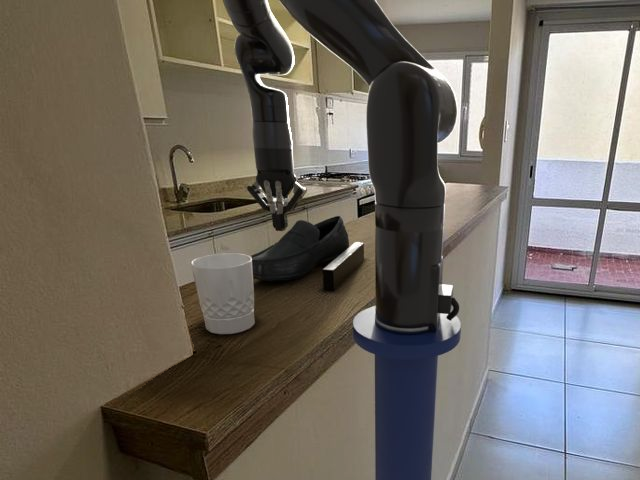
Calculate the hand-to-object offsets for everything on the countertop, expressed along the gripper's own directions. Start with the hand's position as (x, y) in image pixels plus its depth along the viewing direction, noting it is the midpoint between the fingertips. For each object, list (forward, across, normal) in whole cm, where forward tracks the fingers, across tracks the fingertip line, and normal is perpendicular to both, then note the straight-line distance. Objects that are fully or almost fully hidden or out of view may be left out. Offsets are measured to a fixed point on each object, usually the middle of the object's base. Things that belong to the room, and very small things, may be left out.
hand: (280, 230), depth 98 cm
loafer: (+7, +7, -7) cm, 12 cm away
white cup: (+7, +8, -36) cm, 38 cm away
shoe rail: (+7, +17, -7) cm, 19 cm away
